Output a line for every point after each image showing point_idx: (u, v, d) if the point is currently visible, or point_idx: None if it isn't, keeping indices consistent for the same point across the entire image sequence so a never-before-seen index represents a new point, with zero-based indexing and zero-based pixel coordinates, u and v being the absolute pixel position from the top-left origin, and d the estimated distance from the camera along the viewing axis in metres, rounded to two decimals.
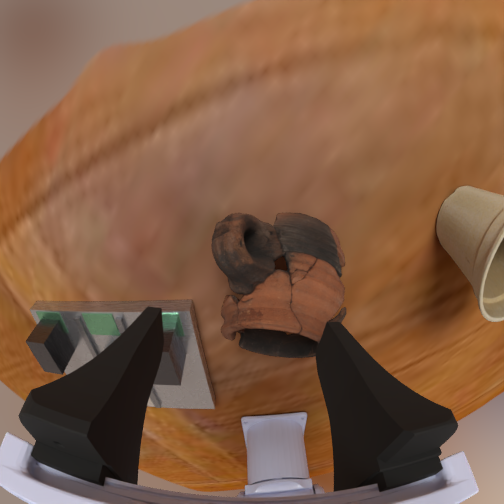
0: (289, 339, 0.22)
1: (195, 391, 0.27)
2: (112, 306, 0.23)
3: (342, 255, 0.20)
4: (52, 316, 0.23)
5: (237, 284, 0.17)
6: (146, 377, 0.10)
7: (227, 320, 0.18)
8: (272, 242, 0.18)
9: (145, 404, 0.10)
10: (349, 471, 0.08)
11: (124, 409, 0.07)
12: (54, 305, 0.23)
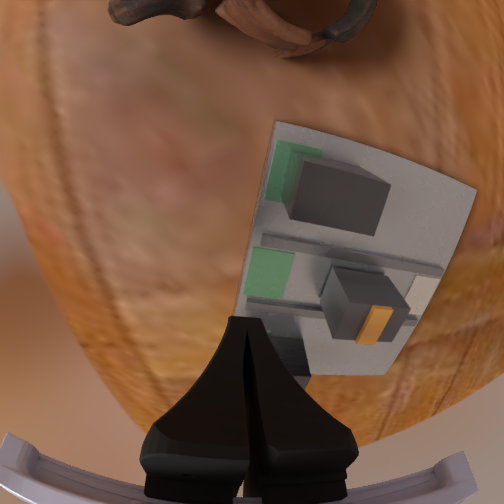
0: None
1: (437, 196, 0.15)
2: (248, 242, 0.17)
3: None
4: None
5: None
6: None
7: (250, 17, 0.08)
8: None
9: None
10: (248, 478, 0.07)
11: None
12: None
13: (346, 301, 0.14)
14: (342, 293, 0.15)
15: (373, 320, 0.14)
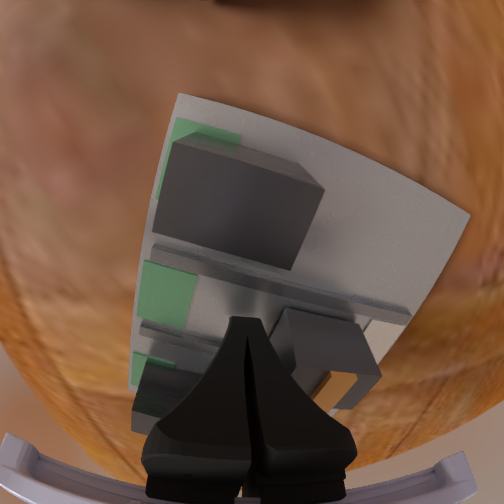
0: None
1: (413, 217, 0.11)
2: None
3: None
4: (139, 366, 0.15)
5: None
6: None
7: None
8: None
9: None
10: (246, 478, 0.07)
11: None
12: None
13: (293, 362, 0.10)
14: (290, 349, 0.11)
15: (328, 389, 0.10)
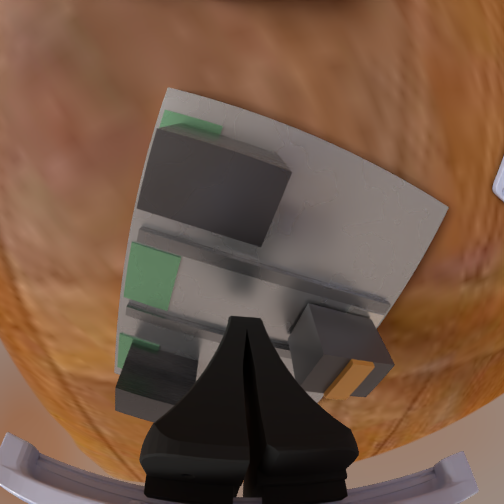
0: None
1: (388, 207, 0.12)
2: None
3: None
4: (126, 348, 0.16)
5: None
6: None
7: None
8: None
9: None
10: (247, 478, 0.07)
11: None
12: None
13: (319, 351, 0.12)
14: (316, 340, 0.12)
15: (349, 375, 0.12)
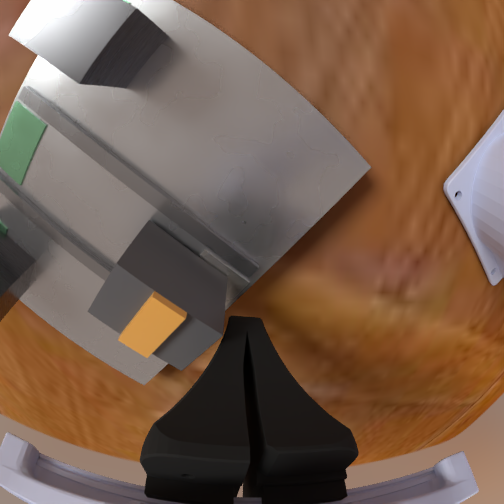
0: None
1: (283, 131, 0.10)
2: None
3: None
4: None
5: None
6: None
7: None
8: None
9: None
10: (247, 478, 0.07)
11: None
12: None
13: (117, 262, 0.08)
14: (125, 251, 0.09)
15: (147, 316, 0.09)
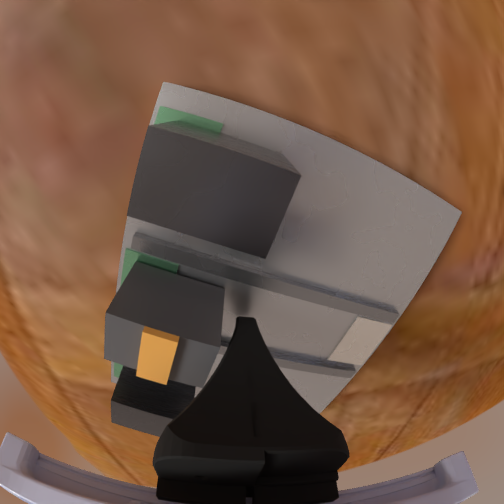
0: None
1: (400, 212, 0.11)
2: None
3: None
4: None
5: None
6: None
7: None
8: None
9: None
10: None
11: None
12: None
13: (108, 310, 0.09)
14: (115, 298, 0.10)
15: (148, 349, 0.09)
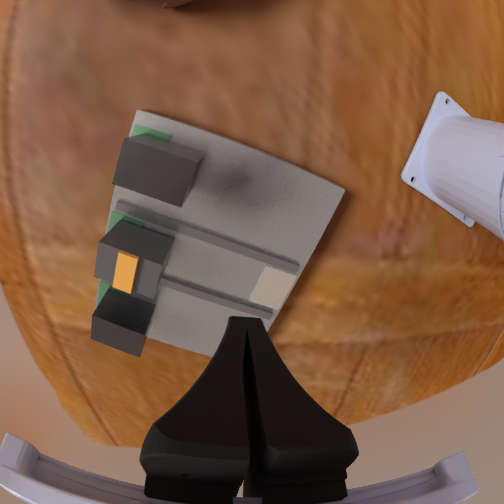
0: None
1: (289, 188, 0.18)
2: None
3: None
4: (104, 293, 0.21)
5: None
6: None
7: None
8: None
9: None
10: (248, 478, 0.07)
11: None
12: None
13: (100, 242, 0.16)
14: (105, 237, 0.16)
15: (120, 265, 0.16)
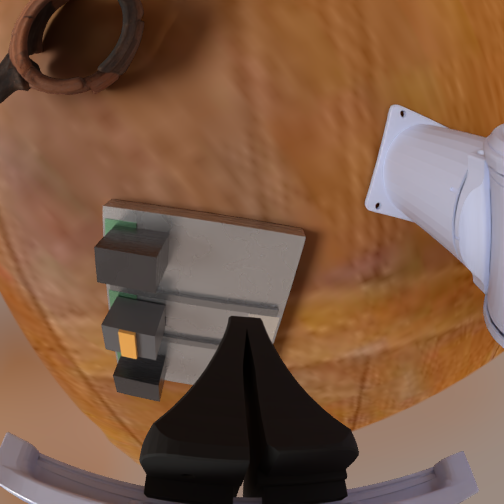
0: None
1: (251, 248, 0.20)
2: None
3: None
4: None
5: (12, 81, 0.10)
6: None
7: None
8: None
9: None
10: (248, 478, 0.07)
11: None
12: None
13: (103, 323, 0.19)
14: (106, 317, 0.19)
15: (122, 340, 0.19)
